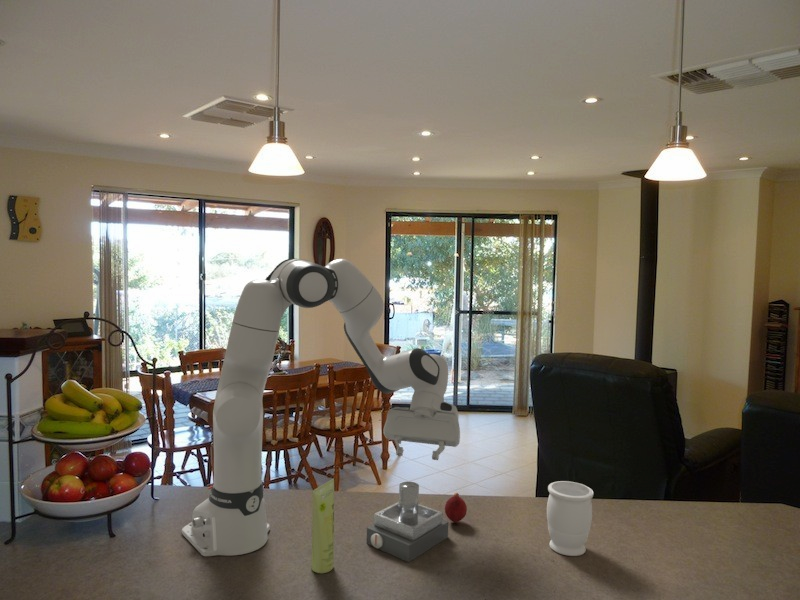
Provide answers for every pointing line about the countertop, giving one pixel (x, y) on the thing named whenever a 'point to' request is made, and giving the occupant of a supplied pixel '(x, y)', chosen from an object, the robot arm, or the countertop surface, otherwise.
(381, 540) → the scale
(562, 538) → the jar
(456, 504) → the onion
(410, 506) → the grey cylinder
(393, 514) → the pan
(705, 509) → the countertop surface
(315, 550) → the tube
